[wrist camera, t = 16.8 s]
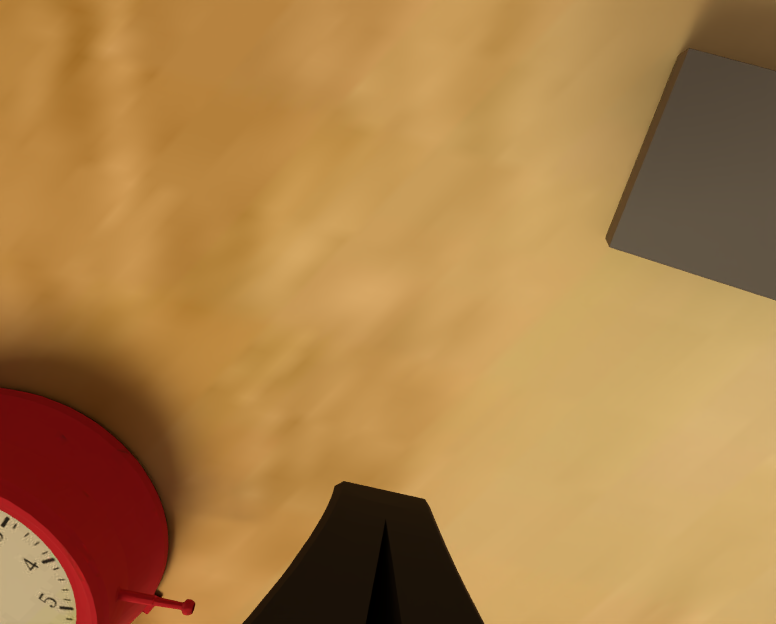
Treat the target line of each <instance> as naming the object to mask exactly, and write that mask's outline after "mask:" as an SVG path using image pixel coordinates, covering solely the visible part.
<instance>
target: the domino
mask: <svg viewBox="0 0 776 624" xmlns="http://www.w3.org/2000/svg"><path fill="white" fill-rule="evenodd" d="M606 241H607V243H608V245H609V247H611V248H614V249H617V250H620V251H623V252H627V253H630V254H633V255H636V256H639V257H642V258H645V259H648V260H651V261H655V262H658V263H661V264H664V265H667V266H670V267H673V268H676V269H680V270H683V271H686V272H689V273H692V274H695V275H698V276H701V277H705V278H708V279H711V280H714V281H717V282H720V283H723V284H726V285H729V286H733V287H736V288H739V289H742V290H745V291H748V292H751V293H754V294H758V295H761V296H764V297H767V298H770V299H773V300H776V71H774V70H770V69H766V68H762V67H759V66H755V65H751V64H747V63H743V62H740V61H736V60H732V59H728V58H724V57H721V56H717V55H713V54H709V53H706V52H702V51H698V50H694V49H690V48H689V49H687V50H686V51H684V52H683V53H682V54H680V55H679V56H678V57H677V60H676V62H675V65H674V67H673V70H672V72H671V75H670V77H669V80H668V82H667V85H666V87H665V90H664V92H663V95H662V97H661V100H660V102H659V105H658V107H657V110H656V112H655V115H654V117H653V120H652V122H651V125H650V127H649V130H648V132H647V135H646V137H645V140H644V142H643V145H642V147H641V150H640V152H639V155H638V157H637V160H636V162H635V165H634V167H633V170H632V172H631V175H630V177H629V180H628V183H627V185H626V188H625V190H624V193H623V195H622V198H621V200H620V203H619V205H618V208H617V210H616V213H615V215H614V218H613V220H612V223H611V225H610V228H609V230H608V233H607V235H606Z"/></svg>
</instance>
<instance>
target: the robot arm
mask: <svg viewBox="0 0 776 624" xmlns="http://www.w3.org/2000/svg"><path fill="white" fill-rule="evenodd" d="M242 624H484V622H483V620H482V618H481V616H480V614H479V613H478V611H477V609H476V607H475V605H474V603H473V601H472V599H471V597H470V595H469V593H468V591H467V589H466V587H465V585H464V583H463V581H462V579H461V577H460V575H459V573H458V571H457V569H456V567H455V565H454V562H453V560H452V558H451V556H450V554H449V551H448V549H447V547H446V545H445V543H444V540H443V538H442V536H441V533H440V531H439V529H438V526H437V524H436V521H435V519H434V516H433V514H432V511H431V509H430V507H429V505H428V503H427V502H426V500H425V499H422V498H418V497H413V496H408V495H404V494H399V493H395V492H390V491H386V490H381V489H377V488H372V487H368V486H363V485H359V484H354V483H350V482H345V481H343V482H341V483H340V484H338V485H336V486H335V487H334V490H333V494H332V497H331V499H330V501H329V504H328V506H327V508H326V510H325V512H324V514H323V516H322V517H321V519H320V521H319V523H318V524H317V526H316V528H315V529H314V531H313V532H312V534H311V536H310V537H309V539H308V540H307V542H306V543H305V544H304V546H303V547H302V549H301V550H300V552H299V553H298V554H297V556H296V557H295V559H294V560H293V562H292V563H291V565H290V566H289V567H288V569H287V570H286V571H285V573H284V574H283V575H282V577H281V578H280V579H279V580H278V582H277V583H276V584H275V585H274V586H273V588H272V589H271V590H270V591H269V593H268V594H267V595H266V596H265V597H264V599H263V600H262V601H261V602H260V603H259V605H258V606H257V607H256V608H255V610H254V611H253V612H252V613H251V614H250V616H249V617H248V618H247V619H246V620H245V621H244V622H243V623H242Z"/></svg>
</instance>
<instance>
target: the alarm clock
mask: <svg viewBox="0 0 776 624" xmlns="http://www.w3.org/2000/svg"><path fill="white" fill-rule="evenodd" d="M167 555H168V529H167V523H166V518H165V513H164V510H163V507H162V504H161V501H160V499H159V496H158V494H157V492H156V490H155V488H154V486H153V484H152V482H151V481H150V479H149V477H148V476H147V474H146V472H145V471H144V469H143V468H142V466H141V465H140V463H139V462H138V461H137V460H136V459H135V458H134V456H133V455H132V454H131V453H130V452H129V451H128V450H127V449H126V448H125V447H124V446H123V444H122V443H120V442H119V441H118V440H117V439H116V438H115V437H114V436H113V435H111V434H110V433H109V432H108V431H106V430H105V429H104V428H103V427H101V426H100V425H99V424H97V423H96V422H94V421H93V420H91V419H90V418H88V417H86V416H84V415H83V414H81V413H79V412H77V411H76V410H74V409H72V408H70V407H68V406H65V405H63V404H61V403H58V402H56V401H53V400H50V399H48V398H45V397H43V396H39V395H35V394H31V393H27V392H22V391H17V390H12V389H5V388H0V624H130V623H131V622H132V621H133V620H134V619H135V618H137V617H138V616H139V614H140V613H141V612H144V613H146V614H148V613H149V612H150V611H151V609H152V608H153V607H154V606H161V607H167V608H173V609H179V610H181V611H182V613H183V614H184V615H190V614H192V613H193V611H194V607H195V602H194V601H193V600H190V599H187V600H186V601H185V602H178V601H174V600H169V599H164V598H162V596H161V598H160V597H158V596H156V595H155V594H154V593H155V591H156V589H157V587H158V585H159V583H160V581H161V579H162V576H163V573H164V570H165V566H166V562H167Z"/></svg>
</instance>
